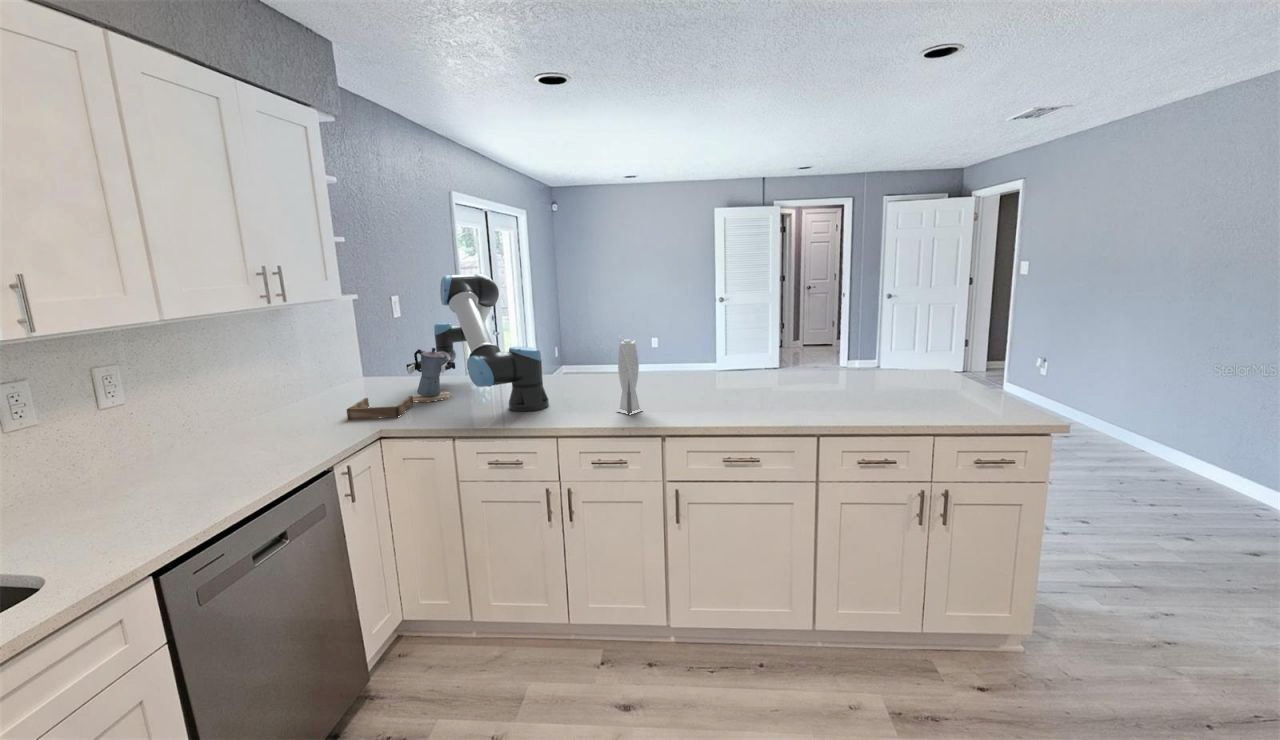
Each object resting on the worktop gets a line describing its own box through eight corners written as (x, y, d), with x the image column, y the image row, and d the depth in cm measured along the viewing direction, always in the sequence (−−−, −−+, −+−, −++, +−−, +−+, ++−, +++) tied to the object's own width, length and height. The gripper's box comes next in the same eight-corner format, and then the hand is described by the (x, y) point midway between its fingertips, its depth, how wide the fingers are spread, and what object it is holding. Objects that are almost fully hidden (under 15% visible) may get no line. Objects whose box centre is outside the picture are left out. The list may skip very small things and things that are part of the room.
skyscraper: (613, 411, 208) (610, 336, 202) (628, 406, 214) (626, 333, 208) (629, 415, 202) (627, 338, 196) (645, 410, 208) (643, 335, 202)
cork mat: (454, 398, 233) (454, 397, 233) (413, 404, 226) (413, 402, 226) (447, 391, 247) (446, 389, 247) (408, 396, 240) (407, 394, 239)
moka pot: (437, 399, 230) (441, 351, 227) (404, 393, 233) (407, 345, 229) (450, 395, 240) (453, 348, 236) (417, 388, 242) (420, 343, 239)
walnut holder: (366, 407, 223) (364, 398, 222) (413, 405, 225) (412, 395, 224) (347, 419, 207) (346, 409, 206) (399, 417, 208) (398, 407, 207)
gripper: (468, 367, 253) (457, 378, 232) (412, 370, 251) (395, 380, 231) (467, 351, 252) (455, 360, 231) (410, 353, 250) (393, 362, 229)
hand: (425, 370), depth 231 cm, fingers open, 13 cm apart
